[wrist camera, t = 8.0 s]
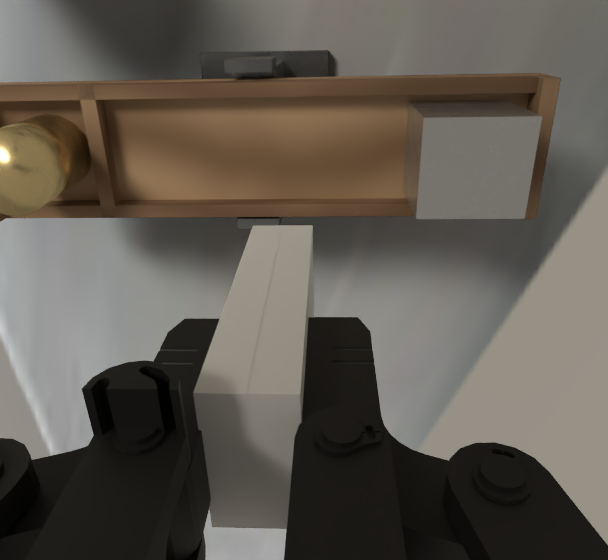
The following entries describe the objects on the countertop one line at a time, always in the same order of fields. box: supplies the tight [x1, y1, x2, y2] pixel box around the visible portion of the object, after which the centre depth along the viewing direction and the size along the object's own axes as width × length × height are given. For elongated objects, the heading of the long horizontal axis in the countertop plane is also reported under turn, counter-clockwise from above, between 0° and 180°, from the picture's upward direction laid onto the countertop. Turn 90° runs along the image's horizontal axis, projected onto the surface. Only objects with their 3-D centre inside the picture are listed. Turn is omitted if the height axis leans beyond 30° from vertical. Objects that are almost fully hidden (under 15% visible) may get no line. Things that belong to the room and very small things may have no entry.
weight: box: [0, 114, 92, 216], centre depth 27 cm, size 4×4×5 cm
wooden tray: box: [0, 73, 561, 221], centre depth 29 cm, size 7×30×3 cm, turn 91°
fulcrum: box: [200, 50, 328, 229], centre depth 32 cm, size 9×8×8 cm
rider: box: [403, 100, 542, 219], centre depth 26 cm, size 5×5×5 cm
